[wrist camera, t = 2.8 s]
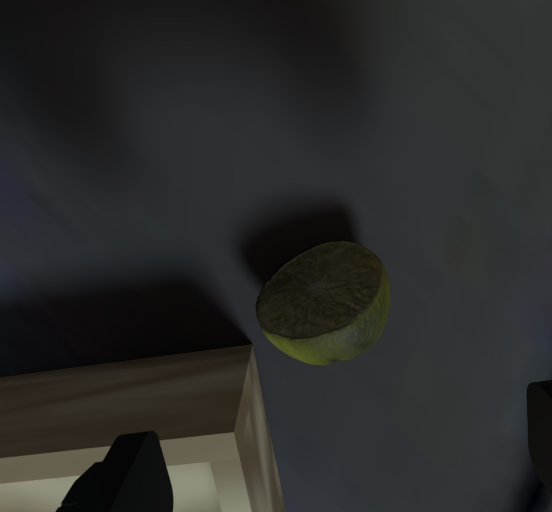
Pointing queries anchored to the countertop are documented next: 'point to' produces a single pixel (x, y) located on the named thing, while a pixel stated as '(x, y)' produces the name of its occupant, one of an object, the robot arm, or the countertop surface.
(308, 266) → the lime
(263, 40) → the countertop surface
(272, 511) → the crate
